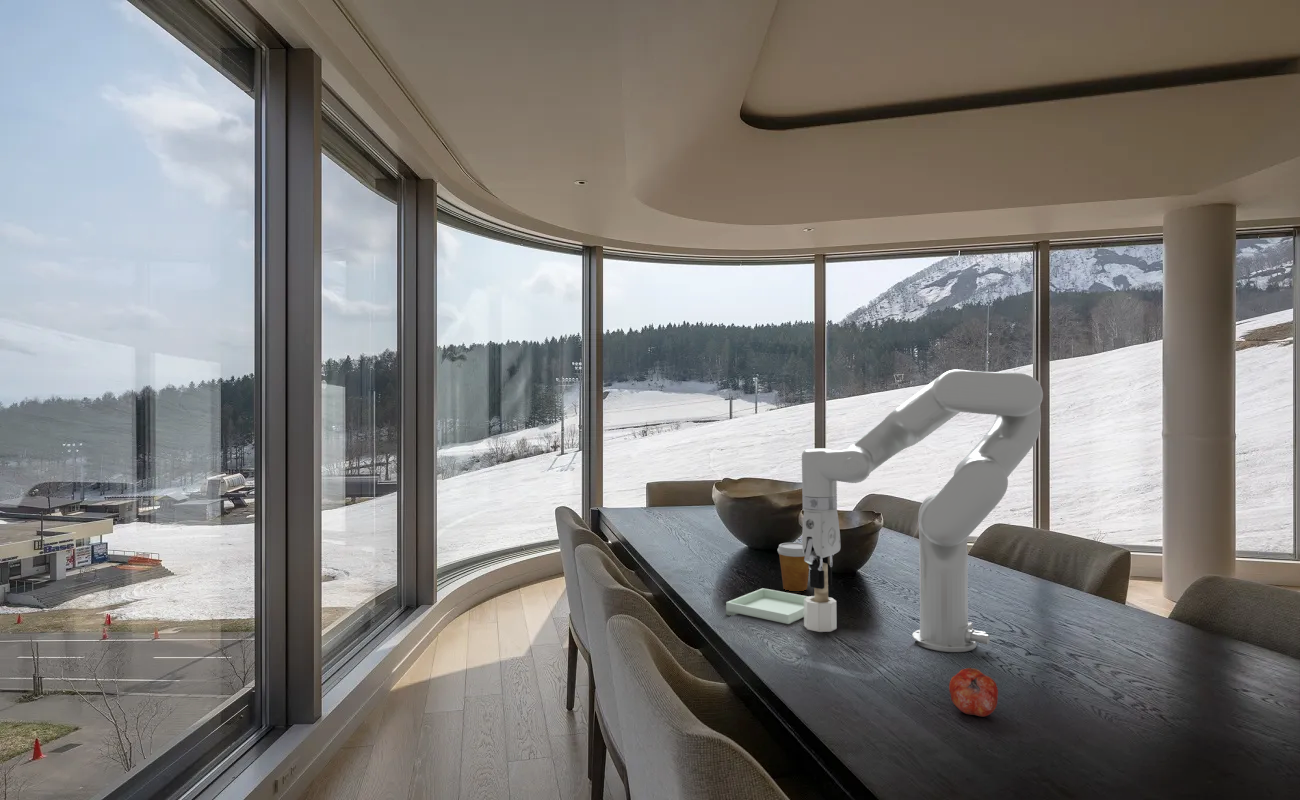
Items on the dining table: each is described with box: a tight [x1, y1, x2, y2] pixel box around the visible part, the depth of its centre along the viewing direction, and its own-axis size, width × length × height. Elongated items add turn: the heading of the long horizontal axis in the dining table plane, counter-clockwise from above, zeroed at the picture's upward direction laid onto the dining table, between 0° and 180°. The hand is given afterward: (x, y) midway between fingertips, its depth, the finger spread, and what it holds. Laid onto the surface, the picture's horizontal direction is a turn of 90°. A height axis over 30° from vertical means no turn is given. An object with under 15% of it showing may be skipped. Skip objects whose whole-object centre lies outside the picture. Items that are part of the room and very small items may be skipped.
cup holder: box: [803, 595, 838, 633], centre depth 162 cm, size 7×7×7 cm
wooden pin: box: [813, 563, 829, 603], centre depth 162 cm, size 3×3×12 cm
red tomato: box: [948, 667, 999, 717], centre depth 120 cm, size 7×7×10 cm
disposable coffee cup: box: [776, 542, 810, 592], centre depth 199 cm, size 10×10×12 cm
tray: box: [725, 587, 809, 625], centre depth 177 cm, size 17×17×3 cm
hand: (821, 585), depth 162 cm, fingers closed on wooden pin, 3 cm apart
